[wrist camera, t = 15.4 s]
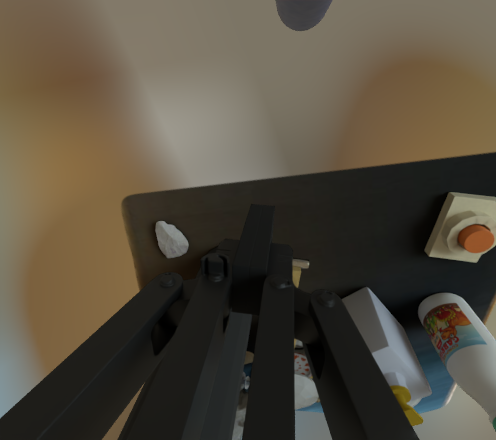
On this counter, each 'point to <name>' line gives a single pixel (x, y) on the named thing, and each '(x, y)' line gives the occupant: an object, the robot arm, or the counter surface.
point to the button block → (461, 225)
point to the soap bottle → (389, 349)
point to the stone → (170, 240)
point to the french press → (303, 380)
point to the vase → (215, 382)
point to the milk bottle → (463, 346)
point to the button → (476, 238)
